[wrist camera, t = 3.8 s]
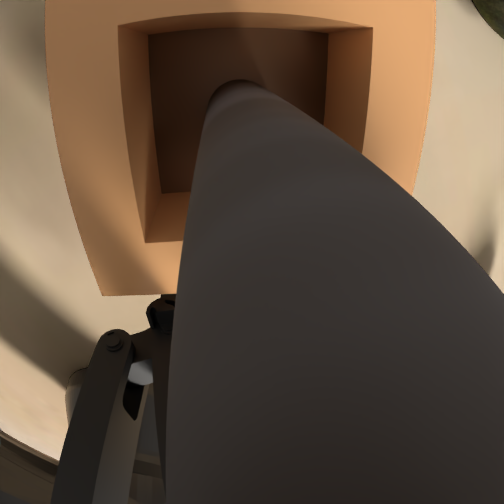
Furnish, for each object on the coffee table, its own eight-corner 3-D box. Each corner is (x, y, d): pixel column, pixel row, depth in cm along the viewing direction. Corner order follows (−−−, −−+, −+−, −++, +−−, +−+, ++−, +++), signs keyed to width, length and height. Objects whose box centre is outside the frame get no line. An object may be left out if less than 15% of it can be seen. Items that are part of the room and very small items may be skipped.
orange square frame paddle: (334, 314, 15) (352, 363, 12) (149, 327, 14) (142, 380, 11) (380, -4, 6) (435, -15, 4) (92, -4, 6) (46, -20, 3)
